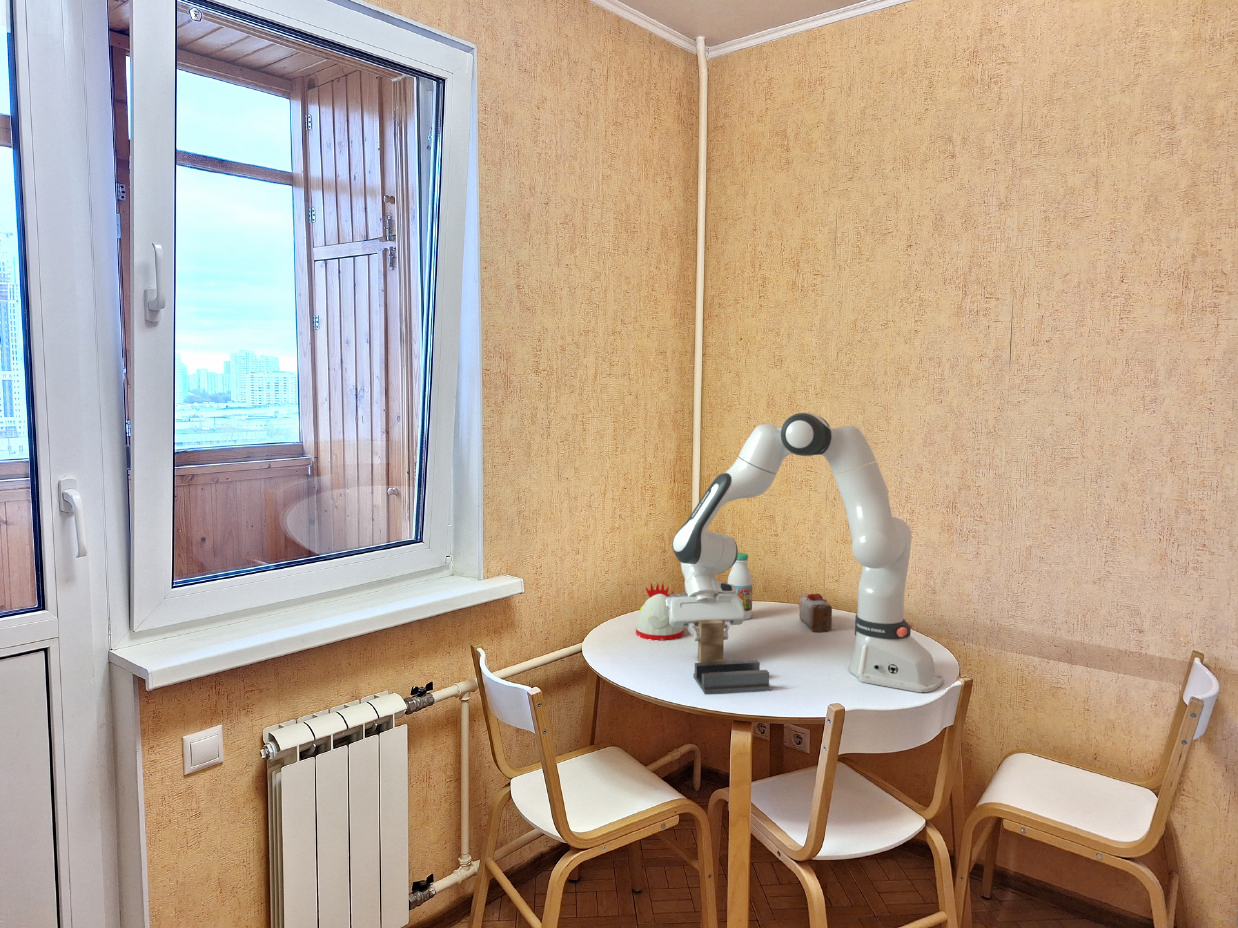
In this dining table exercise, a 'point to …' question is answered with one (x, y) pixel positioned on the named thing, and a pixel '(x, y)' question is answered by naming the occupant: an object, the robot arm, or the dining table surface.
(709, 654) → the wooden block
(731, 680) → the door track
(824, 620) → the food item
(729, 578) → the milk bottle
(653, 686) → the dining table surface
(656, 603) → the kitchen timer
